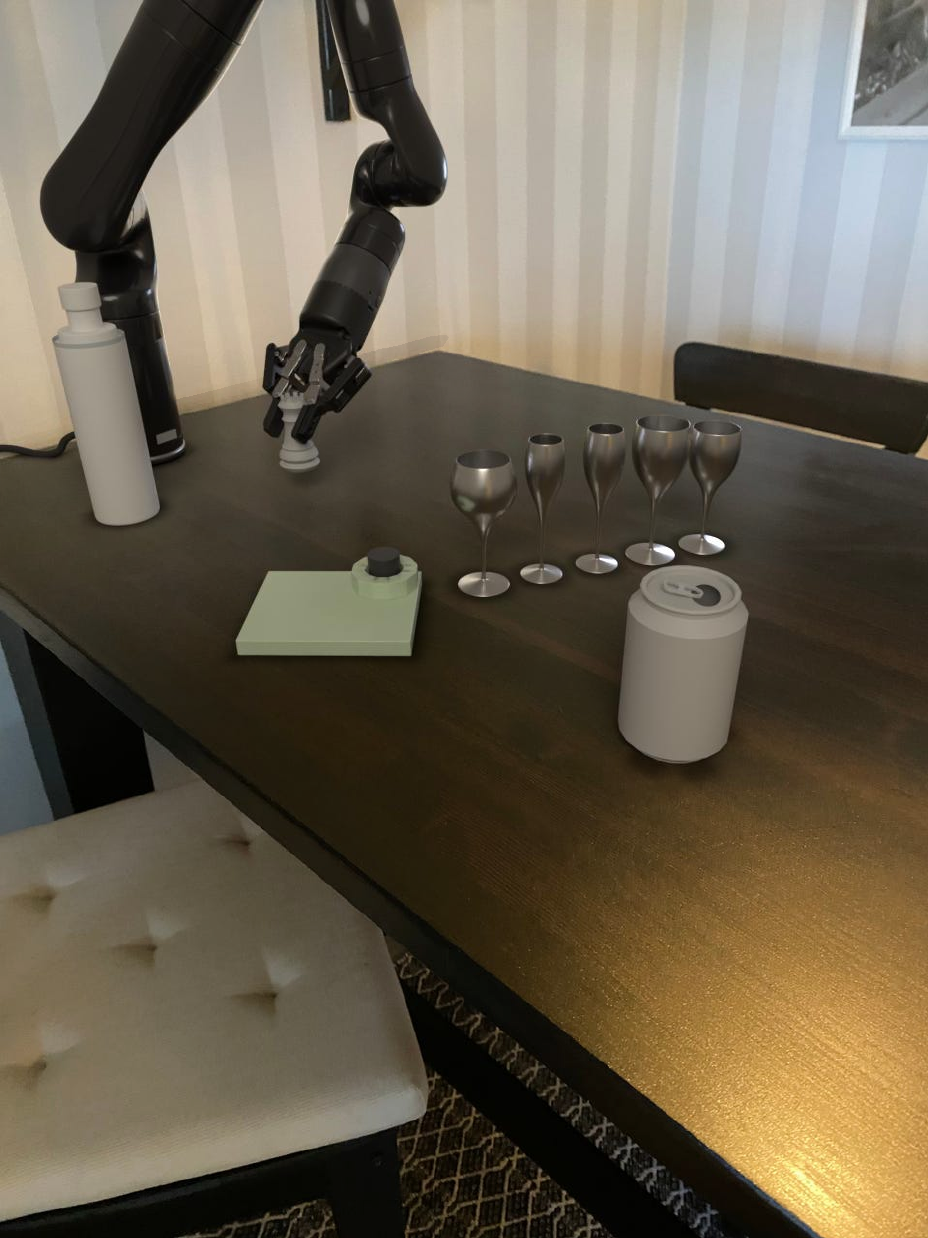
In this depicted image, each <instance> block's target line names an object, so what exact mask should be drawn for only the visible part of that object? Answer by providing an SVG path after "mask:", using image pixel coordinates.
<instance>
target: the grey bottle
mask: <svg viewBox="0 0 928 1238" xmlns="http://www.w3.org/2000/svg"><path fill="white" fill-rule="evenodd" d="M57 292H58V297H59V301H60V306H61V308H62V310H64V311H65V314H66V318H67V322H68V323H67V324H68V325H65V326H62V327H60V328H59V329H58V330H57V334H56V335H54V336H53V337H52V338H51V342H52V346H53V350H54V353H55V358H56V363H57V366H58V371H59V374H60V379H61V383H62V388H63V392H64V395H65V400H66V405H67V408H68V412H69V416H70V421H71V424H72V428H73V431H74V433H75V437H76V438H75V441H76V445H77V449H78V454H79V457H80V461H81V465H82V469H83V473H84V478H85V482H86V486H87V489H88V493H89V494H88V495H89V498H90V502H91V506H92V510H93V514H94V518H95V519H96V521H97V522H99V523H100V524H103V525H107V526H114V527H115V526H119V527H120V526H129V525H135V524H139V523H143V522H145V521H148V520H150V519H152V518H153V517H155V516H156V515H158V513H159V512H160V508H161V507H160V499H159V495H158V491H157V487H156V481H155V475H154V472H153V467H152V465H151V461H150V456H149V451H148V446H147V441H146V436H145V431H144V426H143V421H142V416H141V412H140V407H139V402H138V397H137V392H136V387H135V382H134V377H133V373H132V368H131V363H130V358H129V353H128V349H127V344H126V339H125V334H124V331H122V330H120V329H117V328H116V326H115V325H114V324H112V323H107V322H102V318H101V313H100V309H99V307H100V306H101V300H100V295H99V291H98V286H97V284H96V283H91V282H79V283H74V282H70V283H64V284H61V285H58V286H57Z"/></svg>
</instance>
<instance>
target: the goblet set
mask: <svg viewBox="0 0 928 1238" xmlns="http://www.w3.org/2000/svg"><path fill="white" fill-rule="evenodd" d="M691 425H692V424H691V421H689V420H687V419H686V418H684V417H680V416H676V415H671V414H649V415H644V416H641V417H639V418H638V419H637V420H636V422H635V425H634V429H633V434H632V438H631V459H632V466H633V468H634V472H635V474H636V476H637V478H638V479H639V481H640V482H641V484H642V486H643V488H644V489H645V491H646V492H647V494H648V497H649V500H650V526H649V537H648V538H649V539H648V542H640V543H635V544H631V545H629V546H628V547H627V548H626V550H625V555H626V557H627V559H629V560H630V561H632V562H633V563H636V564H639V565H643V566H651V567H652V566H654V567H655V566H663V565H667V564H669V563H671V562H672V561H674V559H675V556H676V555H675V552H674V551H673V549H671V548H669V547H667V546H666V545H663V544H659V543H655V542H654V541H655V531H656V523H657V516H658V511H659V506H660V503H661V501H662V499H663V497H664V495H665V494H666V493H667V491H669V489H671V487H672V486H673V485H674V484H675V483H676V482H677V481H678V479H680V477H681V476H682V474H683V473H684V471H685V469H686V466H687V464H688V466H689V468H690V471H691V473H692V475H693V477H694V479H695V481H696V482H697V484H698V486H699V488H700V492H701V493H702V521H701V530H700V533H699V534H698V533H697V534H695V533H694V534H688V535H685V536H682V537H681V538H679V540H678V547H680V549H681V550H683V551H684V552H687V553H690V554H693V555H700V556H713V555H717V554H719V553H722V552H723V551H724V550H725V543H724V542H723V541H722V540H721V539H719V538H717V537H715V536H712V535H708V534H706V529H707V524H708V523H707V522H708V517H709V512H710V509H711V508H710V507H711V504H712V501H713V498H714V497H715V494H716V492H717V491H718V490H719V488H720V487H721V486H722V485H723V484H724V483H725V482H726V481H727V480H728V478H729V477H731V475H732V473H733V472H734V470H736V469H735V468H736V467H737V464H738V462H739V459H740V455H741V450H742V428H741V426H739V425H738V424H736V423H734V422H730V421H727V420H719V419H707V420H701V421H697V422H695V423H694V424H693V425H692V426H691ZM582 449H583V451H582V465H583V466H582V467H583V472H584V477H585V479H586V482H587V486H588V488H589V490H590V493H591V495H592V498H593V501H594V504H595V512H596V542H595V553H590V554H588V553H587V554H584V555H582V556H579V557H578V558H577V559H576V561H575V566H576V567H577V569H579V570H580V571H583V572H585V573H589V574H595V575H603V574H608V573H611V572H614V571H615V570H616V569H617V568H618V561H617V560H616V559H615V558H613V557H611V556H610V555H606V554H601V553H600V547H601V536H602V535H601V533H602V524H603V519H604V513H605V509H606V507H607V504H608V501H609V499H610V497H611V495H612V493H613V492H614V490H615V488H616V486H617V485H618V482H619V481H620V478H621V476H622V473H623V470H624V467H625V466H624V465H625V459H626V435H625V428H624V427H623V425H622V426H621V425H620V424H616V423H611V422H598V423H597V422H596V423H592V424H590V425H589V426H587V430H586V434H585V437H584V443H583V448H582ZM525 450H526V451H525V454H524V455H525V456H524V475H525V480H526V485H527V488H528V490H529V493H530V495H531V497H532V499H533V503H534V506H535V507H536V510H537V511H536V512H537V514H538V520H539V521H538V522H539V563H533V564H529V565H527V566H525V567H523V568H522V569H521V570H520V577H521V578H522V579H523V580H524V581H526V582H527V583H532V584H535V585H549V584H553V583H556V582H558V581H559V580H561V579H562V577H563V572H562V570H561V569H560V568H558V567H557V566H555V565H552V564H549V563H544V558H545V540H546V528H547V522H548V521H547V520H548V518H549V517H548V516H549V513H550V510H551V508H552V505H553V504H554V501H555V499H556V497H557V495H558V493H559V491H560V489H561V486H562V483H563V480H564V476H565V471H566V451H565V442H564V438H563V437H562V436H560V435H558V434H554V433H537V434H533V435H531V436H529V437H528V439H527V443H526V449H525ZM517 479H518V478H517V475H516V471H515V467H514V464H513V461H512V459H511V457H510V456H509V455H508V454H507V453H504V452H502V451H500V450H494V449H475V450H469V451H468V450H467V451H466V452H463V453H461V454H459V455H458V456H457V457H456V458H455V462H454V465H453V468H452V471H451V474H450V480H449V492H450V497H451V500H452V502H453V504H454V506H455V507H456V508H457V510H459V512H461V513H462V514H463V515H464V516H465V517H466V518H467V519H469V520H470V521H471V522H472V524H473V525H474V526H475V528H476V530H477V533H478V536H479V540H480V541H479V542H480V548H481V571H477V572H471V573H468V574H466V575H464V576H462V577H461V578H460V579H459V581H458V583H457V585H458V589H460V591H461V592H463V594H466V595H469V596H471V597H476V598H492V597H496V596H500V595H502V594H504V593H505V592H507V590H508V589H509V588H510V581H509V579H508V578H507V577H506V576H504V575H503V574H501V573H496V572H492V571H487V560H486V559H487V543H488V537H489V533H490V531H491V528H492V527H493V525H494V524H495V523H496V521H497V520H499V519H500V518H501V517H502V516H503V515H504V514H506V512H507V511H508V510H509V509H510V508H511V507H512V505H513V504H514V502H515V500H516V496H517V492H518V480H517Z"/></svg>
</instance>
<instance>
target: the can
mask: <svg viewBox="0 0 928 1238" xmlns="http://www.w3.org/2000/svg"><path fill="white" fill-rule="evenodd" d="M742 593H743V592H742V590H741V588H740V586H739V584H738V583H736V581H734V580H733V579H732V578H731V577H730V576H728V575H726V574H724V573H722V572H719V571H717V570H714V569H711V568H707V567H704V566H703V567H702V566H698V565H697V566H696V565H688V564H687V565H681V564H680V565H676V564H675V565H669V566H663V567H660V568H657V569H654V570H651V571H650V572H649V573H647V574H645V575H644V576H643V577H642V579H641V581H640V583H639V589H638V590H636V591H635V592H634V593H633V594H631V596H630V598H629V601H628V603H627V613H626V623H625V625H626V626H625V634H624V635H625V636H624V647H623V657H622V671H621V679H620V680H621V681H620V691H619V692H620V693H619V702H618V716H617V723H618V729H619V732H620V733H621V735H622V736H623V738H624V739H625V741H626V742H627V743H629V744H630V745H631V746H633V747H634V748H635V749H636V750H638V751H639V752H641V753H642V755H644V756H647V757H649V758H651V759H654V760H656V761H658V762H662V763H663V762H664V763H669V764H689V763H694V762H698V761H700V760H703V759H707V758H708V757H710V756H713V755H714V754H716V753H718V752H720V751H721V750H722V749H723V747H724V746H725V745H726V744H727V743H728V737H729V733H730V728H731V721H732V715H733V708H734V704H735V703H734V702H735V697H736V691H737V686H738V680H739V674H740V667H741V662H742V657H743V650H744V644H745V639H746V633H747V626H748V620H749V614H750V613H749V610H748V609H747V607H746V604H745V603H744V601H742V599H741V598H742V595H743V594H742Z"/></svg>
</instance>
